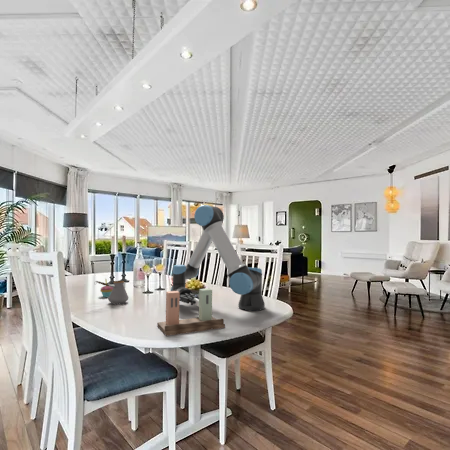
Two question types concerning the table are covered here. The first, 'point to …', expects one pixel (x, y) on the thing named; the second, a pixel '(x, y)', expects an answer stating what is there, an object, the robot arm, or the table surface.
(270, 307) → the table surface
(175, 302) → the salmon orange rectangular block
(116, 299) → the coffee pot
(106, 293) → the cupcake
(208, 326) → the wooden board
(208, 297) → the pale green block
